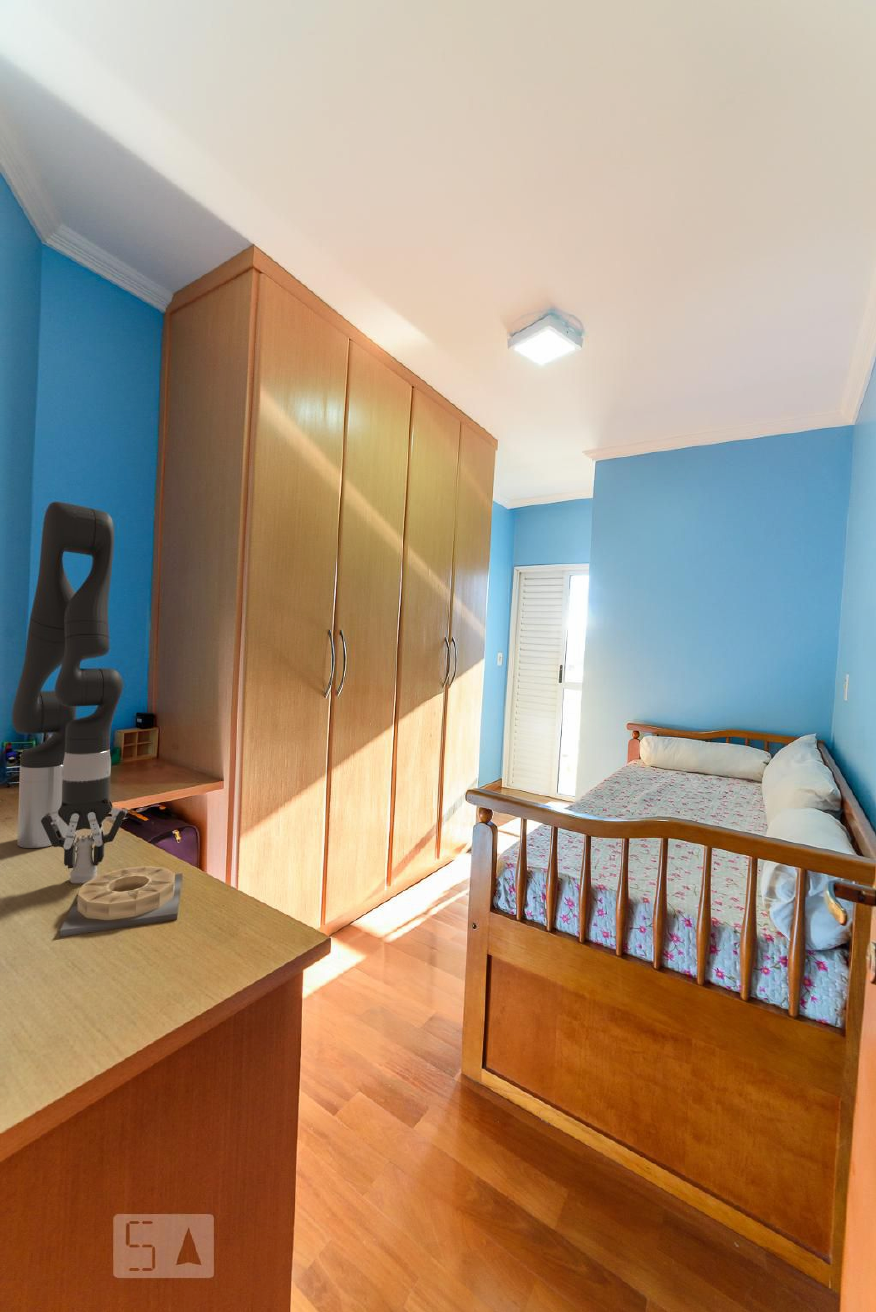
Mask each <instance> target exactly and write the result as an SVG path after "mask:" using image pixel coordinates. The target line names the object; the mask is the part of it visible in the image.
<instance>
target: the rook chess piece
mask: <svg viewBox="0 0 876 1312" xmlns="http://www.w3.org/2000/svg"><path fill="white" fill-rule="evenodd" d="M94 844H95V841H94V837H93V835H92V834H87V837H86V835H85V834H84V835H81V836H77V838H76V840H75V841H74V845H76V848H77V849H76V850H75V854H76V856H75V865H74V867H73V868H72V870H71V871H70V873H69V876H70V878H69V882H71V884H74V885H75V884H76V885H81V884H82V885H83V884H85V883H87V882H88V881H90V880H92V879H94V878H96V877H97V876H99V874H98V867H97V866H93V861H94V856H93V852H94V847H93V845H94Z"/></svg>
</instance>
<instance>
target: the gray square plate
mask: <svg viewBox="0 0 876 1312" xmlns="http://www.w3.org/2000/svg"><path fill="white" fill-rule="evenodd" d="M182 884H183V873H175V872H173V871H171V870H169V869H168V868H166V867H162V866H161V867H160V866H150V865H143V866H142V865H141V866H132V867H124V868H120V869H116V870H113V871H109V872H106V873H102V874H98V875H97V877H96V878H94V879H92V880H90V881H88V882H87V883H83V884H82V886H81V888H80V890H79V892H78V893H77V897H76V899H75V901H74V903H73V905H72V907H71V908H70V910H69V913H68V914H67V917H66V918H65V920H64V922H63V923H62V926H61V928H60V930H59V938H60V937H66V936H67V937H68V936H74V935H75V936H76V935H80V934H87V933H95V932H100V931H108V930H115V929H121V928H128V927H135V926H141V925H142V926H143V925H147V924H148V925H149V924H155V923H162V922H169V921H174V920H178V915H179V906H180V898H181V892H182Z"/></svg>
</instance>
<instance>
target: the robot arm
mask: <svg viewBox="0 0 876 1312" xmlns="http://www.w3.org/2000/svg"><path fill="white" fill-rule="evenodd" d="M42 524H43V525H42V532H41V543H40V544H41V545H40V557H39V568H38V575H37V576H38V577H37V581H36V588H35V593H34V598H33V603H32V607H31V612H30V618H29V623H28V624H29V625H28V631H27V639H26V647H25V652H24V653H25V655H24V660H23V661H24V662H23V667H22V670H21V675H20V678H19V681H18V686H17V690H16V694H15V697H14V702H13V705H12V713H11V720H12V721H11V722H12V724H11V725H12V727H13V729H14V731H16V732H17V733H18V734H20V735H35V734H48V733H52V735H51V736H50V737H49V738H48V739H47V740H45V741H44V742H42V743H40V744H37V745H36V746H33V747H30V748H28V749H27V748H26V749H25V750H24V751H22V752H21V754H20V757H19V784H18V785H19V787H18V789H19V790H18V792H19V793H18V817H17V819H18V820H17V844H16V845H17V846H18V847H21V848H24V849H35V848H36V849H37V848H38V849H39V848H46V847H49V846H52V847H54V848H57V847H60V848H63V854H64V856H63V859H64V860H63V864H64V866H65V867H67V869H69V870H70V869H73V867H74V866H75V863H76V850H77V849H76V848H77V846H76V845H75V844H74V843H75V842H76V839H77V838H76V837H77V834H78V831H80V830H90V831H91V836H92V835H93V839H94V841H95V842H94V847H93V866H96V867H97V866H99V865H100V863H102V862H103V859H104V858H105V844H107V843H111V842H113V841H114V840H115V837H116V835H117V834H118V832H119V829H120V827H121V825H122V823H123V821H124V819H125V817H126V815H127V812H128V809H127V808H125V807H122V808H118V807H115V806H113V804H112V802H111V794H110V793H111V773H112V772H111V771H112V770H111V769H112V768H111V767H112V759H111V732H112V731H111V730H112V729H111V728H112V725H113V721H114V717H115V713H116V710H117V707H118V704H119V702H120V699H121V697H122V694H123V693H122V692H123V689H124V682H123V681H124V680H123V678H122V675H121V674H120V672H118V671H117V670H115V669H113V668H102V667H101V668H83V667H81V666H80V665H81V663H82V661H86V660H90V659H95V658H99V657H100V658H101V657H103V656H106V655H107V654H108V653H109V651H110V627H109V626H110V625H109V597H110V588H111V580H112V572H113V571H112V570H113V559H114V549H115V547H114V545H115V526H114V520H113V518H112V517H111V515H110V514H109V513H108V512H106V511H103V510H101V509H94V508H91V507H86V506H82V505H76V504H71V503H68V502H61V501H53V502H50V503H49V504H48V506H47V508H46V510H45V514H44V517H43V523H42ZM66 552H67V553H72V554H73V553H74V554H77V555H78V554H80V555H86V556H90V557H91V558H92V560H91V561H92V562H91V563H92V564H91V569H90V570H89V573H88V576H87V577H86V579H85V580H84V582H83V583H82V584H81V585H80V587H79V588H78V589H77V591H75V590H74V588H73V586H72V585H71V582H70V581H69V578H68V577H67V574H66V571H65V568H64V563H63V562H64V561H63V557H64V553H66ZM59 667H60V668H59ZM80 667H81V668H80ZM58 668H59V672H58V675H57V677H56V681H55V683H54V684H55V685H54V690H43V687H44V684H45V683H46V682H47V680H48V679H49V677H50V676H51V675H52V674H53V673H54V672H55V671H56V670H57V669H58ZM92 706H93V707H95V706H97V707H96V709H95V711H94V712H93V713H91V714H90V715H88V716H83V717H79V718H77V707H92ZM109 814H111V820H112V821H113V824H112V826H111V828H110V830H109V832H108V833H106V834H105V832H104V824H103V821H104V820H105V819H106V818H107V817H108V816H109Z"/></svg>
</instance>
